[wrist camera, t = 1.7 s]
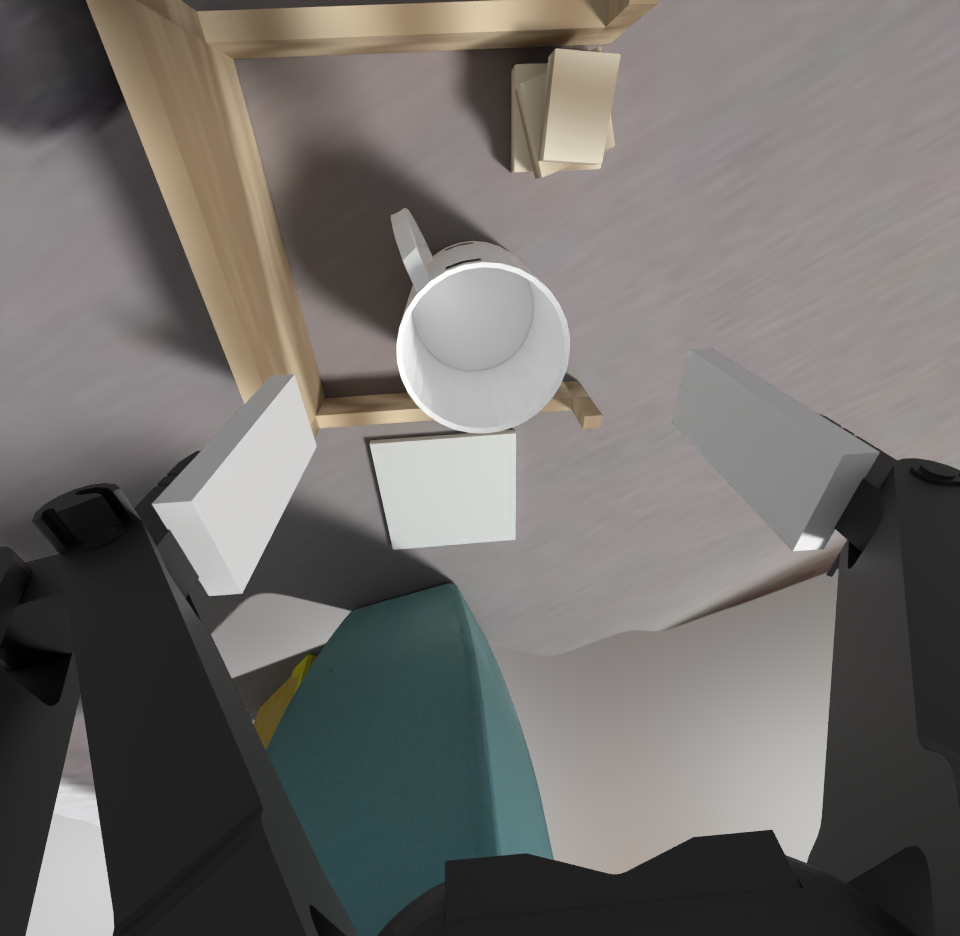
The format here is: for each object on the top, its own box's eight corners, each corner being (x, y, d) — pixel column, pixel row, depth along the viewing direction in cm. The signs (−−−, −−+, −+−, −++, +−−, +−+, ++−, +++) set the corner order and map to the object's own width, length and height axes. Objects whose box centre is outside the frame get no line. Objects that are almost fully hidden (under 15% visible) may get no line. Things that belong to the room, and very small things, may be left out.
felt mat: (393, 545, 41) (393, 549, 41) (370, 440, 35) (369, 444, 34) (514, 535, 42) (515, 539, 41) (514, 429, 35) (515, 433, 35)
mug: (553, 343, 31) (590, 395, 24) (444, 392, 33) (445, 455, 25) (491, 160, 25) (513, 149, 17) (359, 232, 26) (324, 251, 19)
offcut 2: (535, 178, 24) (542, 177, 23) (514, 91, 22) (520, 83, 20) (603, 148, 24) (615, 146, 22) (588, 56, 21) (600, 45, 20)
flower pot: (295, 596, 44) (131, 1052, 21) (473, 543, 42) (511, 991, 19) (379, 687, 55) (333, 1054, 32) (524, 649, 53) (589, 1016, 30)
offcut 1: (509, 172, 26) (514, 172, 24) (510, 72, 23) (515, 64, 21) (590, 169, 26) (600, 168, 24) (599, 69, 23) (611, 61, 22)
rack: (312, 411, 33) (255, 509, 23) (199, 32, 21) (-19, -105, 11) (577, 392, 34) (633, 479, 24) (612, 17, 22) (754, -125, 12)
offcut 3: (593, 164, 22) (602, 163, 21) (537, 161, 22) (543, 159, 21) (609, 62, 20) (620, 54, 19) (548, 57, 20) (555, 48, 19)
